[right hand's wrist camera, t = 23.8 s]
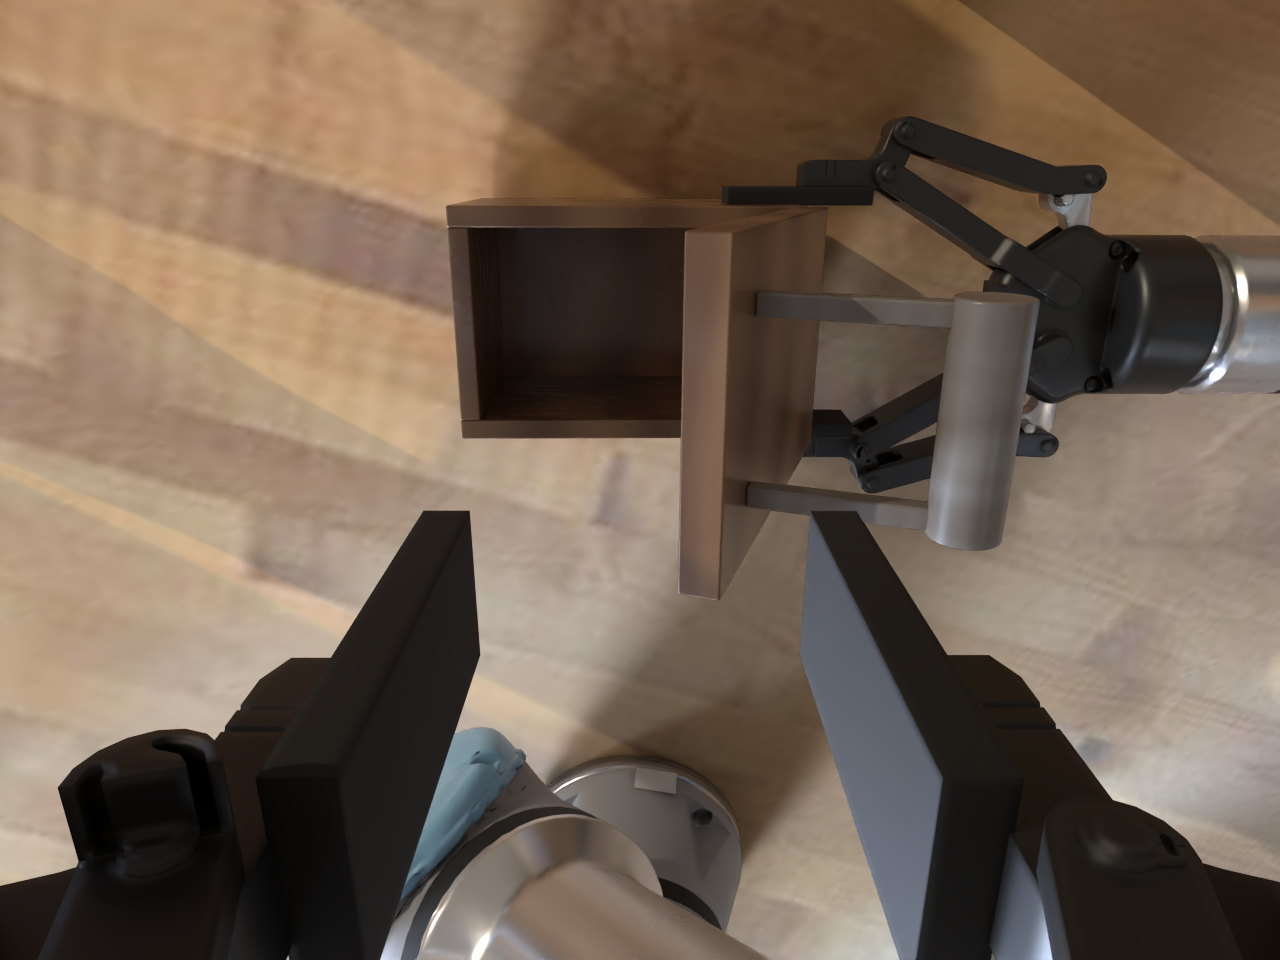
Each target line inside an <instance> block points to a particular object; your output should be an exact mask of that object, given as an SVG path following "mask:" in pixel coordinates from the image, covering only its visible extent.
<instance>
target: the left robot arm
mask: <svg viewBox="0 0 1280 960" xmlns="http://www.w3.org/2000/svg"><path fill="white" fill-rule="evenodd" d="M910 154H912V155H915V156H918V157H921V158H924V159H926V160H929V161H932V162H935V163H938V164H941V165H944V166H947V167H950V168H952V169H955V170H958V171H961V172H964V173H967V174H970V175H973V176H976V177H979V178H981V179H984V180H987V181H990V182H993V183H996V184H999V185H1002V186H1005V187H1008V188H1010V189H1013V190H1017V191H1021V192H1027V193H1037V194H1039V204H1040V206H1041V208H1042V209H1043V210H1045V211H1049V212H1052V213H1054V214H1055V215H1056V216H1057V217H1058V220H1059V226H1057V227H1055V228H1054V229H1052V230H1051V231H1049V232H1048V233H1046V234H1045V235H1043V236H1042V237H1040V238H1039V239H1037V240H1036V241H1034V242H1033V243H1031V244H1030V245H1028V246H1027V247H1024V246H1022V245H1021V244H1019V243H1018V242H1016V241H1014V240H1012V239H1010V238H1008V237H1006V236H1005V235H1003V234H1002V233H1000V232H999V231H997V230H996V229H994V228H993V227H991V226H990V225H988V224H987V223H986V222H984V221H983V220H981V219H980V218H978V217H977V216H975V215H974V214H972V213H971V212H969V211H968V210H967V209H965V208H964V207H962V206H961V205H959V204H958V203H956V202H955V201H953V200H952V199H950V198H949V197H947V196H946V195H945V194H943V193H942V192H940V191H939V190H937V189H936V188H934V187H933V186H931V185H930V184H928V183H927V182H926V181H924V180H923V179H921V178H920V177H918V176H917V175H915V174H914V173H912V172H911V171H909V170H908V169H907V168H905V167H904V166H905V164H906V162H907V159H908V157H909V155H910ZM1106 179H1107V175H1106V171H1105V170H1104V168H1102V167H1101V166H1098V165H1062V166H1053V165H1050V164H1047V163H1045V162H1042V161H1039V160H1036V159H1033V158H1030V157H1027V156H1025V155H1022V154H1019V153H1016V152H1013V151H1010V150H1007V149H1005V148H1002V147H999V146H996V145H993V144H990V143H987V142H985V141H982V140H979V139H976V138H973V137H970V136H967V135H965V134H962V133H959V132H956V131H953V130H950V129H947V128H945V127H942V126H939V125H936V124H933V123H930V122H927V121H924V120H922V119H919V118H916V117H911V116H908V117H903V118H898V119H893V120H890V121H888V122H887V123H885V124H884V126H883V128H882V130H881V138H880V140H879V142H878V145H877V147H876V149H875V151H874V152H873V154H872V155H871V156H869V157H868V158H866V159H864V160H808V161H805V162H803V163H800V164H798V165H797V180H796V186H723V193H722V202H723V203H726V204H798V205H872V204H873V193H874V190H875V191H876V192H878V193H879V194H881V195H882V196H884V197H885V198H887V199H888V200H890V201H891V202H893V203H894V204H896V205H897V206H899V207H900V208H902V209H903V210H905V211H906V212H908V213H909V214H911V215H912V216H914V217H915V218H917V219H918V220H920V221H921V222H923V223H924V224H926V225H927V226H929V227H930V228H932V229H933V230H935V231H936V232H937V233H939V234H940V235H942V236H943V237H945V238H946V239H948V240H949V241H951V242H952V243H954V244H955V245H957V246H958V247H960V248H961V249H963V250H964V251H966V252H967V253H969V254H970V255H971V256H972V257H973V258H974V259H976V260H977V261H978V262H980V263H981V264H983V265H984V266H986V267H987V268H989V269H990V270H992V271H993V273H992V274H991V276H990V278H989V280H984V286H983V292H1001V293H1013V294H1021V295H1027V296H1032V297H1035V298H1037V299H1039V301H1040V306H1039V312H1038V318H1037V325H1036V331H1035V337H1034V343H1033V349H1032V356H1031V362H1030V368H1029V374H1028V381H1027V387H1026V393H1027V394H1029V395H1030V396H1031V397H1030V400H1029V402H1028V403H1027V404H1026V405H1025V406H1024V407H1023V412H1022V418H1021V424H1020V431H1019V437H1018V443H1017V449H1016V456H1028V457H1049V456H1051V455H1053V454H1054V453H1055V452H1056V451H1057V449H1058V447H1059V442H1058V439H1057V438H1056V437H1055V436H1054V435H1052V434H1051V430H1052V425H1053V421H1054V417H1055V412H1056V408H1057V403H1059V402H1062V401H1064V400H1066V399H1068V398H1070V397H1072V396H1075V395H1079V394H1085V393H1092V394H1165V393H1171V392H1174V391H1177V392H1179V393H1182V394H1251V393H1280V236H1233V235H1209V236H1199V237H1196V238H1192V237H1189V236H1185V235H1103V234H1101V233H1099V232H1097V231H1096V230H1094V229H1093V228H1091V227H1089V221H1090V214H1091V206H1092V198H1093V193H1095V192H1098V191H1099V190H1101V189H1102V187H1103V186H1104V185H1105V183H1106ZM943 374H944V373H942V374H940V375H938V376H936V377H934V378H933V379H931V380H929V381H927V382H925V383H923V384H922V385H920V386H918V387H916V388H914V389H912V390H911V391H909V392H907V393H905V394H903V395H901V396H900V397H898V398H896V399H894V400H892V401H890V402H889V403H887V404H885V405H883V406H881V407H879V408H878V409H876V410H874V411H872V412H870V413H868V414H867V415H865V416H863V417H861V418H859V419H857V420H856V421H854V422H852V423H851V422H850V421H849V419H848V418H847V417H846V416H845V415H844V413H843V412H842V411H841V410H813V416H812V430H811V443H810V444H809V446H808V448H807V450H806V451H805V453H804V455H803V457H844V458H847V459H848V460H849V463H850V471H851V473H852V474H853V476H854V477H855V479H856V480H857V482H858V483H859V485H860V486H861V488H862V489H863V490H864V491H865V492H867V493H870V494H872V493H878V492H881V491H885V490H889V489H892V488H896V487H899V486H903V485H907V484H910V483H914V482H917V481H921V480H925V479H928V478H930V477H931V470H932V462H933V454H934V446H935V438H936V435H934V436H930V437H927V438H923V439H920V440H916V441H913V442H909V443H906V444H902V445H898V446H895V447H891V446H893V445H895V444H897V443H899V442H900V441H902V440H904V439H906V438H908V437H910V436H912V435H914V434H915V433H917V432H919V431H921V430H923V429H925V428H927V427H929V426H930V425H932V424H934V423H936V422H938V414H939V406H940V398H941V390H942V382H943ZM889 447H891V448H889ZM887 448H888V449H887ZM525 760H526V755H525V753H524V752H523V751H522V750H521V749H516V748H515V747H514V746H513V745H512V744H511V743H510V742H509V741H508V740H507V739H506V738H505V737H504V736H503V735H502V734H501V733H500V732H498V731H496V730H494V729H491V728H486V727H480V728H471V729H467V730H464V731H461V732H458V733H456V734H454V736H453V739H452V742H451V745H450V748H449V751H448V755H447V758H446V761H445V764H444V767H443V770H442V773H441V776H440V779H439V782H438V785H437V788H436V791H435V794H434V797H433V800H432V803H431V806H430V809H429V812H428V816H427V819H426V822H425V825H424V828H423V831H422V834H421V837H420V840H419V843H418V846H417V849H416V852H415V855H414V858H413V861H412V864H411V867H410V870H409V874H408V877H407V880H406V883H405V886H404V889H403V892H402V895H401V898H400V901H399V904H398V907H397V910H396V913H395V916H394V919H393V922H392V925H391V928H390V931H389V935H388V938H387V941H386V944H385V947H384V950H383V953H382V956H381V959H380V960H773V959H771V958H769V957H767V956H766V955H764V954H762V953H760V952H759V951H757V950H755V949H753V948H752V947H750V946H748V945H746V944H745V943H743V942H741V941H739V940H737V939H736V938H734V937H732V936H730V935H729V934H727V933H725V932H726V929H727V925H728V921H729V918H730V914H731V910H732V907H733V903H734V900H735V896H736V892H737V889H738V885H739V881H740V876H741V867H742V849H741V842H740V835H739V828H738V824H737V821H736V818H735V815H734V813H733V811H732V809H731V807H730V805H729V804H728V802H727V801H726V799H725V798H724V796H723V795H722V794H721V793H720V792H719V791H718V790H717V789H716V788H715V787H714V786H713V785H712V784H711V783H710V782H709V781H707V780H706V779H705V778H703V777H702V776H700V775H699V774H697V773H696V772H694V771H692V770H690V769H688V768H686V767H684V766H682V765H679V764H677V763H674V762H671V761H667V760H664V759H659V758H655V757H647V756H634V755H627V756H614V757H607V758H602V759H598V760H594V761H591V762H588V763H585V764H582V765H580V766H577V767H575V768H573V769H571V770H569V771H568V772H566V773H564V774H563V775H561V776H560V777H558V778H557V779H556V780H554V781H553V782H552V783H551V784H550V785H549V786H548V787H547V786H546V785H545V784H544V783H543V782H542V781H541V780H540V779H539V778H538V776H537V775H536V774H535V773H534V771H533V770H532V769H531V768H530V766H529V765H528V764H527V763H526V761H525Z"/></svg>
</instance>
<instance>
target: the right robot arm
mask: <svg viewBox="0 0 1280 960" xmlns="http://www.w3.org/2000/svg"><path fill="white" fill-rule="evenodd" d="M479 657H480V645H479V632H478V618H477V605H476V591H475V577H474V564H473V550H472V537H471V523H470V511H423V513H422V514H421V516H420V517H419V519H418V520H417V522H416V524H415V525H414V527H413V528H412V530H411V532H410V533H409V535H408V536H407V538H406V540H405V541H404V543H403V544H402V546H401V547H400V549H399V551H398V552H397V554H396V555H395V557H394V559H393V560H392V562H391V563H390V565H389V566H388V568H387V570H386V571H385V573H384V574H383V576H382V578H381V579H380V581H379V582H378V584H377V586H376V587H375V589H374V590H373V592H372V593H371V595H370V597H369V598H368V600H367V601H366V603H365V605H364V606H363V608H362V609H361V611H360V613H359V614H358V616H357V617H356V619H355V620H354V622H353V624H352V625H351V627H350V628H349V630H348V632H347V633H346V635H345V636H344V638H343V640H342V641H341V643H340V644H339V646H338V647H337V649H336V651H335V652H334V654H333V655H332V657H331V658H291V659H289V660H288V661H286V662H285V663H283V664H282V665H280V666H279V667H278V668H276V669H275V670H273V671H272V672H270V673H269V674H267V675H266V676H264V677H263V678H262V679H260V680H259V681H258V683H257V684H256V685H255V687H254V688H253V689H252V691H251V692H250V694H249V695H248V696H247V698H246V699H245V700H244V702H243V703H242V704H241V709H240V710H237V711H236V712H235V714H234V715H233V716H232V718H231V719H230V720H229V722H228V723H227V725H226V726H225V731H224V732H221V733H220V734H219V735H218V737H217V738H216V739H215V740H214V739H212V738H211V737H210V736H209V735H208V734H206V733H201V732H197V731H193V730H188V729H173V730H157V731H153V732H149V733H145V734H141V735H137V736H133V737H129V738H126V739H124V740H122V741H120V742H117V743H115V744H113V745H111V746H108V747H106V748H104V749H102V750H99V751H97V752H96V753H95V754H93V755H92V756H90V757H89V758H88V759H86V760H85V761H83V762H82V763H80V764H79V765H78V766H76V767H75V768H73V769H72V771H71V772H70V773H69V774H68V776H67V777H66V778H65V779H64V781H63V782H62V783H61V784H60V786H59V787H58V790H59V794H60V797H61V801H62V804H63V808H64V811H65V815H66V818H67V822H68V825H69V829H70V832H71V836H72V839H73V843H74V846H75V850H76V853H77V857H78V860H79V862H78V865H77V867H76V868H72V869H69V870H66V871H62V872H59V873H55V874H50V875H46V876H42V877H37V878H33V879H29V880H24V881H20V882H15V883H11V884H7V885H2V886H0V960H286V959H287V957H288V955H289V960H380V959H381V956H382V953H383V950H384V947H385V944H386V941H387V938H388V935H389V931H390V928H391V925H392V922H393V919H394V916H395V913H396V910H397V907H398V904H399V901H400V898H401V895H402V892H403V889H404V886H405V883H406V880H407V877H408V874H409V870H410V867H411V864H412V861H413V858H414V855H415V852H416V849H417V846H418V843H419V840H420V837H421V834H422V831H423V828H424V825H425V822H426V819H427V816H428V812H429V809H430V806H431V803H432V800H433V797H434V794H435V791H436V788H437V785H438V782H439V779H440V776H441V773H442V770H443V767H444V764H445V761H446V758H447V755H448V751H449V748H450V745H451V742H452V739H453V736H454V733H455V730H456V727H457V724H458V721H459V718H460V715H461V712H462V709H463V706H464V703H465V700H466V697H467V694H468V690H469V687H470V684H471V681H472V678H473V675H474V672H475V669H476V666H477V663H478V660H479ZM800 657H801V660H802V663H803V666H804V669H805V672H806V675H807V678H808V681H809V684H810V687H811V690H812V693H813V697H814V700H815V703H816V706H817V709H818V712H819V715H820V718H821V721H822V724H823V727H824V730H825V733H826V736H827V739H828V742H829V745H830V748H831V751H832V754H833V758H834V761H835V764H836V767H837V770H838V773H839V776H840V779H841V782H842V785H843V788H844V791H845V794H846V797H847V800H848V803H849V806H850V809H851V812H852V815H853V819H854V822H855V825H856V828H857V831H858V834H859V837H860V840H861V843H862V846H863V849H864V852H865V855H866V858H867V861H868V864H869V867H870V870H871V873H872V877H873V880H874V883H875V886H876V889H877V892H878V895H879V898H880V901H881V904H882V907H883V910H884V913H885V916H886V919H887V922H888V925H889V928H890V931H891V934H892V938H893V941H894V944H895V947H896V950H897V953H898V956H899V959H900V960H991V955H992V952H993V955H994V957H995V959H996V960H1280V882H1277V881H1272V880H1268V879H1264V878H1259V877H1255V876H1250V875H1246V874H1242V873H1237V872H1233V871H1228V870H1224V869H1221V868H1217V867H1214V866H1210V865H1207V864H1204V863H1202V861H1201V859H1200V858H1199V856H1198V855H1197V853H1196V852H1195V850H1194V849H1193V848H1192V846H1191V845H1190V843H1189V842H1188V840H1187V839H1186V838H1184V837H1183V836H1182V835H1181V834H1179V833H1178V832H1177V831H1176V830H1174V829H1173V828H1172V827H1171V826H1169V825H1168V824H1167V823H1166V822H1164V821H1163V820H1161V819H1159V818H1157V817H1155V816H1153V815H1151V814H1149V813H1147V812H1145V811H1143V810H1141V809H1139V808H1137V807H1135V806H1131V805H1128V804H1124V803H1121V802H1117V801H1114V800H1112V798H1111V797H1110V796H1109V794H1108V793H1107V792H1106V790H1105V789H1104V788H1103V786H1102V785H1101V784H1100V782H1099V781H1098V780H1097V778H1096V777H1095V776H1094V774H1093V773H1092V772H1091V770H1090V769H1089V768H1088V766H1087V765H1086V764H1085V762H1084V761H1083V760H1082V758H1081V757H1080V756H1079V754H1078V753H1077V752H1076V750H1075V749H1074V748H1073V746H1072V745H1071V743H1070V742H1069V741H1068V739H1067V738H1066V737H1065V735H1064V734H1063V733H1062V731H1061V730H1060V729H1056V723H1055V722H1054V721H1053V719H1052V718H1051V717H1050V715H1049V714H1048V713H1047V711H1046V710H1045V709H1044V707H1040V702H1039V701H1038V699H1037V698H1036V697H1035V695H1034V694H1033V693H1032V691H1031V690H1030V689H1029V687H1028V686H1027V685H1026V683H1025V682H1024V681H1023V679H1022V678H1021V677H1020V676H1019V675H1017V674H1016V673H1014V672H1013V671H1011V670H1010V669H1008V668H1007V667H1005V666H1004V665H1003V664H1001V663H1000V662H998V661H997V660H995V659H994V658H992V657H991V656H989V655H947V654H946V652H945V651H944V649H943V647H942V646H941V644H940V643H939V641H938V639H937V638H936V636H935V635H934V633H933V632H932V630H931V628H930V627H929V625H928V624H927V622H926V620H925V619H924V617H923V616H922V614H921V613H920V611H919V609H918V608H917V606H916V605H915V603H914V601H913V600H912V598H911V597H910V595H909V593H908V592H907V590H906V589H905V587H904V586H903V584H902V582H901V581H900V579H899V578H898V576H897V574H896V573H895V571H894V570H893V568H892V566H891V565H890V563H889V562H888V560H887V559H886V557H885V555H884V554H883V552H882V551H881V549H880V547H879V546H878V544H877V543H876V541H875V539H874V538H873V536H872V535H871V533H870V532H869V530H868V528H867V527H866V525H865V524H864V522H863V520H862V519H861V517H860V516H859V514H858V513H857V511H810V523H809V537H808V551H807V564H806V578H805V591H804V605H803V618H802V632H801V645H800Z"/></svg>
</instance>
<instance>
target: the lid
mask: <svg viewBox="0 0 1280 960" xmlns="http://www.w3.org/2000/svg"><path fill="white" fill-rule="evenodd" d="M827 213H828V208H827V207H795V208H791V209H786V210H781V211H777V212H772V213H767V214H762V215H758V216H753V217H748V218H744V219H739V220H734V221H730V222H725V223H720V224H716V225H711V226H706V227H701V228H697V229H692V230H688V231H686V232H685V254H684V304H683V355H682V405H681V456H680V507H679V557H678V594H681V595H687V596H693V597H699V598H705V599H711V600H717V601H718V600H720V599H721V597H722V595H723V593H724V592H725V590H726V588H727V586H728V585H729V583H730V581H731V580H732V578H733V576H734V574H735V573H736V571H737V569H738V567H739V566H740V564H741V562H742V560H743V559H744V557H745V555H746V554H747V552H748V550H749V548H750V547H751V545H752V543H753V541H754V540H755V538H756V536H757V535H758V533H759V531H760V529H761V528H762V526H763V524H764V522H765V521H766V519H767V517H768V515H769V514H770V512H771V510H772V511H779V512H787V513H795V514H802V515H810V511H857V513H858V514H859V516H860V517H861V519H862V520H863V522H864V523H871V524H879V525H887V526H894V527H902V528H910V529H917V530H924V532H925V534H926V536H927V537H928V538H929V539H931V540H932V541H934V542H936V543H938V544H940V545H943V546H946V547H950V548H954V549H960V550H968V551H983V550H989V549H993V548H995V547H997V546H999V545H1000V543H1001V542H1002V537H1003V531H1004V524H1005V518H1006V512H1007V506H1008V499H1009V493H1010V487H1011V481H1012V474H1013V468H1014V462H1015V456H1016V449H1017V443H1018V437H1019V431H1020V424H1021V418H1022V412H1023V406H1024V399H1025V393H1026V387H1027V381H1028V374H1029V368H1030V362H1031V356H1032V349H1033V343H1034V337H1035V331H1036V325H1037V318H1038V312H1039V306H1040V301H1039V299H1037V298H1035V297H1032V296H1027V295H1021V294H1013V293H1001V292H966V293H960V294H956V295H955V296H954V297H953V299H938V298H917V297H896V296H875V295H855V294H834V293H822V281H823V268H824V254H825V241H826V227H827ZM820 321H834V322H852V323H869V324H886V325H903V326H920V327H937V328H949V334H948V342H947V350H946V358H945V366H944V374H943V382H942V390H941V398H940V406H939V414H938V422H937V430H936V438H935V446H934V454H933V462H932V470H931V477H930V485H929V493H928V501H927V502H925V501H917V500H909V499H900V498H892V497H884V496H875V495H867V494H859V493H850V492H842V491H834V490H825V489H817V488H809V487H801V486H792V485H786V484H787V483H788V481H789V479H790V477H791V476H792V474H793V472H794V470H795V469H796V467H797V465H798V464H799V462H800V460H801V458H802V457H803V455H804V453H805V451H806V450H807V448H808V446H809V444H810V443H811V430H812V416H813V403H814V389H815V376H816V362H817V349H818V335H819V322H820Z"/></svg>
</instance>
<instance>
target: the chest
mask: <svg viewBox="0 0 1280 960" xmlns="http://www.w3.org/2000/svg"><path fill="white" fill-rule="evenodd" d="M795 207H808V206H803V205H798V204H726V203H723V202H722V199H558V198H481V199H476V200H472V201H467V202H462V203H457V204H452V205H448V206H446V215H447V226H448V227H449V228H448V242H449V256H450V270H451V284H452V298H453V313H454V327H455V341H456V355H457V369H458V383H459V397H460V411H461V419H462V420H461V426H462V438H463V439H522V438H681V405H682V355H683V304H684V254H685V232H686V231H688V230H692V229H697V228H701V227H706V226H711V225H716V224H720V223H725V222H730V221H734V220H739V219H744V218H748V217H753V216H758V215H762V214H767V213H772V212H777V211H781V210H786V209H791V208H795Z"/></svg>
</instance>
